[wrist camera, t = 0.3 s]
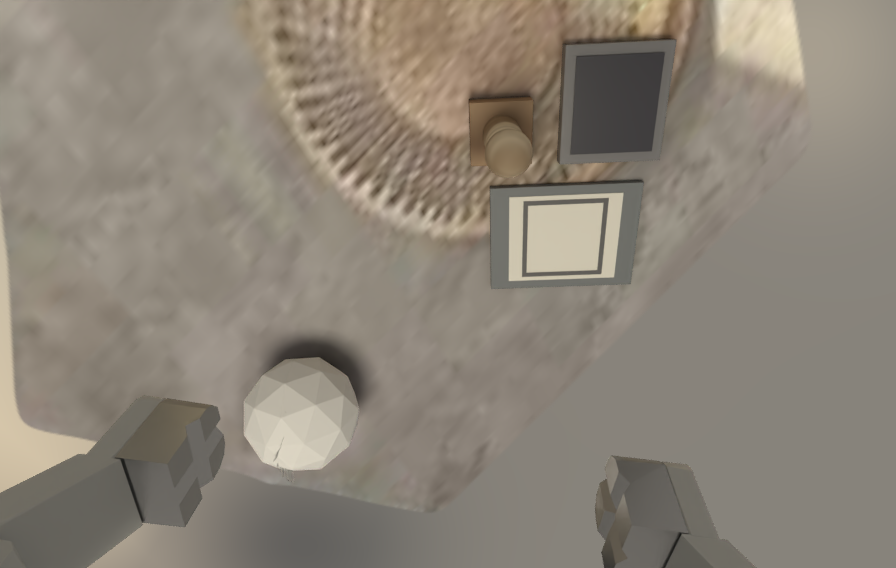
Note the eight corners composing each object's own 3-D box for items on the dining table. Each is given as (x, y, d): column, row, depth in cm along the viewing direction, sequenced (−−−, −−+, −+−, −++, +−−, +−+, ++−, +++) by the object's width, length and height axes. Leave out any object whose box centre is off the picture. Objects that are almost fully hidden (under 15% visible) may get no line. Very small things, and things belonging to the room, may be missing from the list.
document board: (490, 186, 55) (490, 189, 55) (641, 180, 55) (644, 182, 54) (490, 285, 61) (491, 289, 60) (628, 280, 60) (630, 284, 60)
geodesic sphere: (373, 468, 67) (346, 492, 54) (269, 473, 68) (217, 498, 54) (369, 356, 70) (342, 352, 56) (269, 362, 70) (219, 360, 57)
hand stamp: (468, 99, 51) (472, 123, 40) (529, 95, 51) (550, 119, 40) (470, 159, 54) (474, 197, 43) (528, 156, 54) (546, 194, 43)
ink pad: (562, 44, 49) (566, 45, 47) (670, 38, 49) (677, 39, 47) (557, 160, 54) (560, 165, 52) (654, 156, 54) (660, 160, 52)
